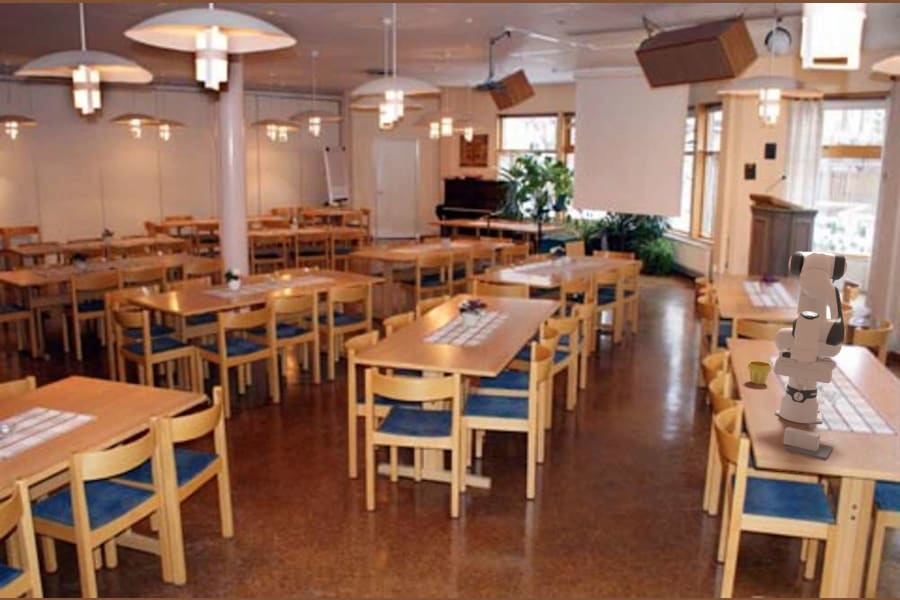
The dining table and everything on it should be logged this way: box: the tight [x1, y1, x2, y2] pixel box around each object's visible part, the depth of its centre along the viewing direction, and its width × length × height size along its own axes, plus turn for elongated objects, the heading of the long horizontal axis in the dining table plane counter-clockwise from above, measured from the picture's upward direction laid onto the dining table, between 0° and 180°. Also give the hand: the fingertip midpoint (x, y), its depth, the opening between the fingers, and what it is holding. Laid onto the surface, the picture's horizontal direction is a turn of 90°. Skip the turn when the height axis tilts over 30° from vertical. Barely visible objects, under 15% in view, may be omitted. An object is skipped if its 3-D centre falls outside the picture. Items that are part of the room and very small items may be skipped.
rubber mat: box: [785, 443, 834, 461], centre depth 299 cm, size 14×14×1 cm
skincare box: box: [783, 426, 821, 451], centre depth 300 cm, size 6×4×12 cm
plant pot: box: [747, 360, 772, 385], centre depth 386 cm, size 10×10×10 cm
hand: (800, 389), depth 298 cm, fingers closed
